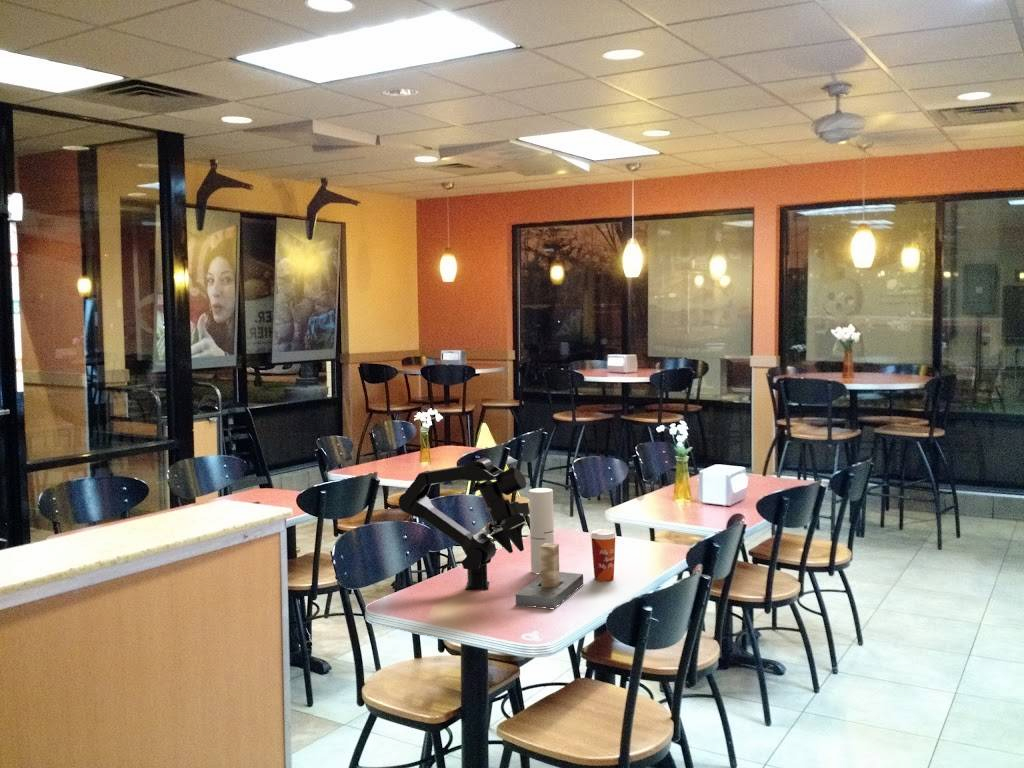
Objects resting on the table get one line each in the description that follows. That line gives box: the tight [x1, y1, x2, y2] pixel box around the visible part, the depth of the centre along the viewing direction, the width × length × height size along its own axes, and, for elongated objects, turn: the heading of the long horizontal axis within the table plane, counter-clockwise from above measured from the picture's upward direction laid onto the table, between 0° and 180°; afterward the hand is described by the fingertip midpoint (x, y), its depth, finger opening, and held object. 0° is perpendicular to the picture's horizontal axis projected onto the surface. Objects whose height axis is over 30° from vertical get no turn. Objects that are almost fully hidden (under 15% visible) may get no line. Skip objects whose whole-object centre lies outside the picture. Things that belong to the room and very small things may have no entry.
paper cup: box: [589, 528, 617, 582], centre depth 269 cm, size 8×8×14 cm
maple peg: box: [540, 543, 560, 588], centre depth 255 cm, size 4×4×14 cm
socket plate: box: [515, 571, 584, 609], centre depth 256 cm, size 11×24×3 cm, turn 157°
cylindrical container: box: [528, 487, 555, 575], centre depth 278 cm, size 7×7×25 cm
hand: (516, 551), depth 259 cm, fingers open, 9 cm apart
